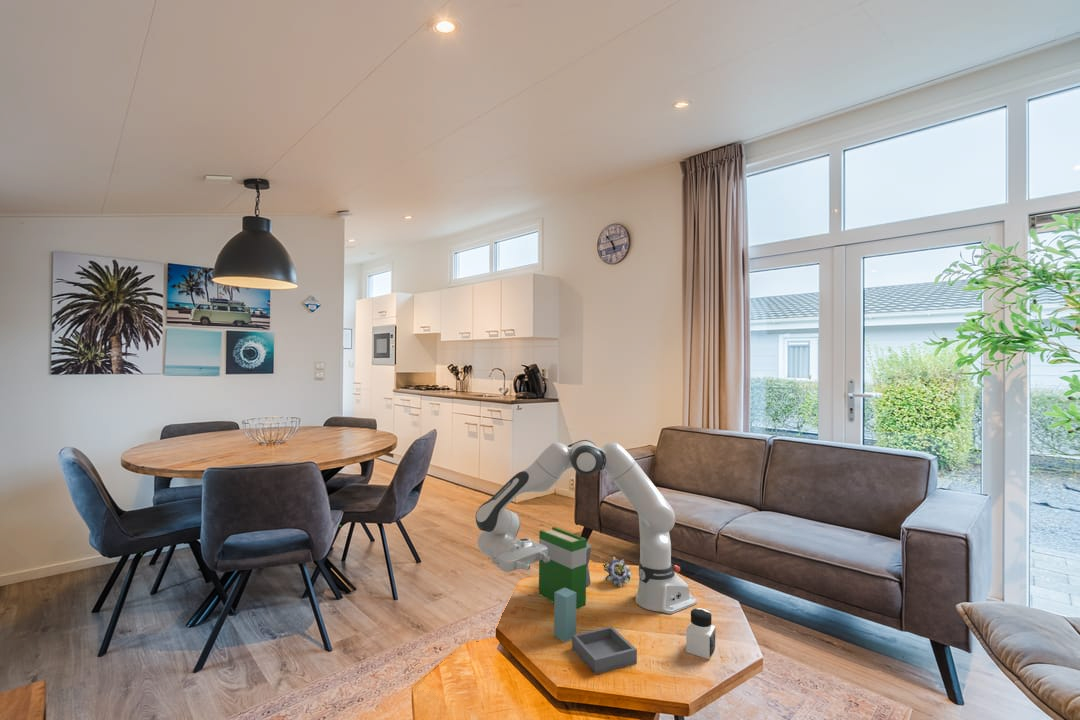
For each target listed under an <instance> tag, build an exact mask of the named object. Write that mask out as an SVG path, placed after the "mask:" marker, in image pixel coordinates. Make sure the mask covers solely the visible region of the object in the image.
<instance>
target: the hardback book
mask: <svg viewBox="0 0 1080 720" xmlns="http://www.w3.org/2000/svg"><path fill="white" fill-rule="evenodd" d="M538 535H539V536H538V537H539V542H538V543H540V544H542V545H544V546H546V547H547V548H548V556H549V557H550V561H549V562H547V563H545V562H543V560H539V561H538V595H539V596H541V595H542V597H543V596H544V597H543V598H545V599H547V600H548V601H551V602H552V601H553V602H552V603H554V595H555V592H556V591H558V590H560V589H563V588H567V589H570V590H572V591H574V592H577V593H576V610H579V609H581V608H582V606H583V607H585V606H586V605H587V587H586V543H587V538H586V537H582V536H580V535H576V534H574V533H571V532H569V531H566V530H564V529H562V528H558V527H556V526H552V527H551V529H549V530H546V531H545V530H543V529H540V530H539V533H538ZM580 607H581V608H580ZM578 608H579V609H578Z"/></svg>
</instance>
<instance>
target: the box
mask: <svg viewBox="0 0 1080 720" xmlns="http://www.w3.org/2000/svg"><path fill="white" fill-rule="evenodd" d="M571 642H572V643H571V649H572V650H573V651H574V652H575V653H576V655H578V657H579V658H580V659H581V661H582V662H583V663H584V664H585V665H586V666H587V667H588V668H589V670H590V671H591V672H592V673H593V674H594V675H598V674H599V675H600V674H603V673H607V672H610V671H613V670H617V669H620V668H621V669H622V668H624V667H627V666H628V667H629V666H632V665H636V664H638V663H637V662H638V658H637V657H638V649H637V648H636V647H635V646H634V645H633V644H631V642H629V641H628V640H627V639H626V638H625V637H624V636H623V635H622V634H621V633H619V631H617V630H616V629H615V628H614V627H613V626H607V627H606V626H605V627H601V628H597V629H593V630H589V631H585V632H581V633H576V634H575V635H572V639H571Z"/></svg>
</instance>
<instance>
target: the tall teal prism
mask: <svg viewBox="0 0 1080 720" xmlns="http://www.w3.org/2000/svg"><path fill="white" fill-rule="evenodd" d="M576 593H577V592H574V591H572V590H570V589H567V588H563V589H560V590H558V591H556V592H555V595H554V602H553V603H554V606H553V608H554V609H553V611H554V612H553V617H554V618H553V619H554V620H553V623H554V624H553V636H554V637H555V638H557V639H559V640H560V641H562V642H564V643H567V642H570V640H571V641H572V635H575V634H577V609H576Z"/></svg>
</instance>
